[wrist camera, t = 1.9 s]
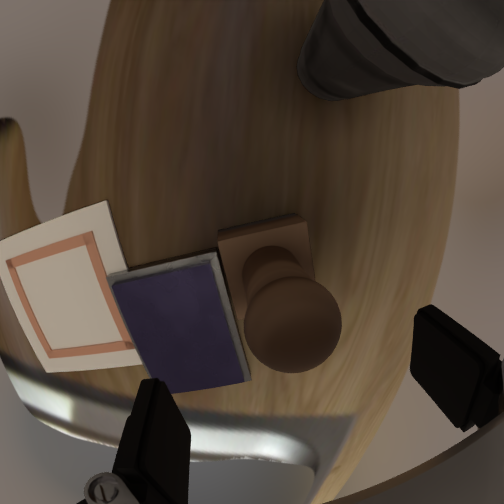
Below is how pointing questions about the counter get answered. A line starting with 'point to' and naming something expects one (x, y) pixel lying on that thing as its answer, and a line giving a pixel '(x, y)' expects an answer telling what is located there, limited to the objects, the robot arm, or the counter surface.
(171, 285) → the ink pad
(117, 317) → the print card
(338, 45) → the beverage cup
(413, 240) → the counter surface
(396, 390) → the counter surface
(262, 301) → the stamp
